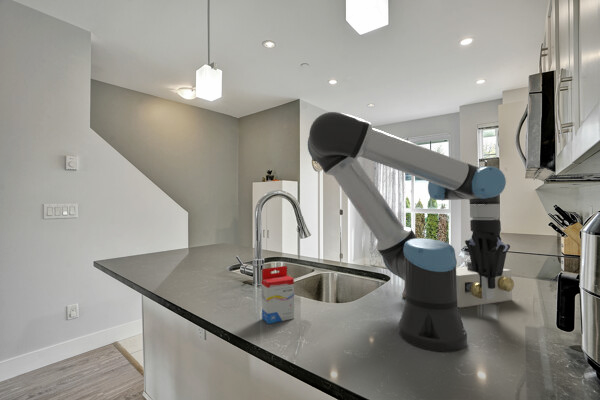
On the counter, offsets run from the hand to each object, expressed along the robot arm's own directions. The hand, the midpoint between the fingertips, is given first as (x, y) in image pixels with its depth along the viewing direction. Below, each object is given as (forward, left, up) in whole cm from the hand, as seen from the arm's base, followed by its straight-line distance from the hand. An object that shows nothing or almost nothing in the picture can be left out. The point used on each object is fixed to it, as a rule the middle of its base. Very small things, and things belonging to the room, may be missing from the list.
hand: (488, 298), depth 82 cm
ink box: (-60, +16, -5) cm, 63 cm away
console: (+7, +11, -4) cm, 14 cm away
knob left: (0, +6, -1) cm, 6 cm away
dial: (+7, +11, +5) cm, 14 cm away
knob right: (+14, +9, -1) cm, 16 cm away
